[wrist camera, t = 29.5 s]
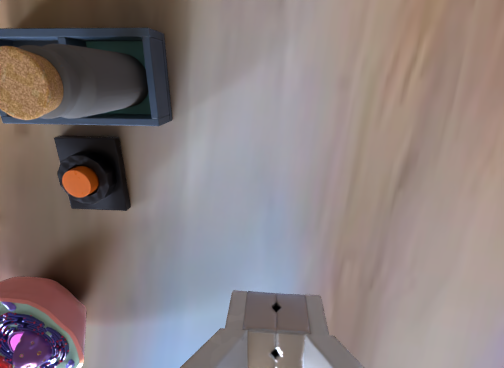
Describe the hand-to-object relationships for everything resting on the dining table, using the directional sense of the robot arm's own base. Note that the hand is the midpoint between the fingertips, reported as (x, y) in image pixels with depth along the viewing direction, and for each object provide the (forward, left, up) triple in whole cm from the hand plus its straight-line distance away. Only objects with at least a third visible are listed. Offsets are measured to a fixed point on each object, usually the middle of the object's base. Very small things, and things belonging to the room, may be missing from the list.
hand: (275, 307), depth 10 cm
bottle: (-7, -17, -26) cm, 32 cm away
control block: (+5, -24, -27) cm, 36 cm away
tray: (-7, -22, -27) cm, 36 cm away
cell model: (+28, -36, -27) cm, 53 cm away
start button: (+5, -24, -25) cm, 35 cm away
